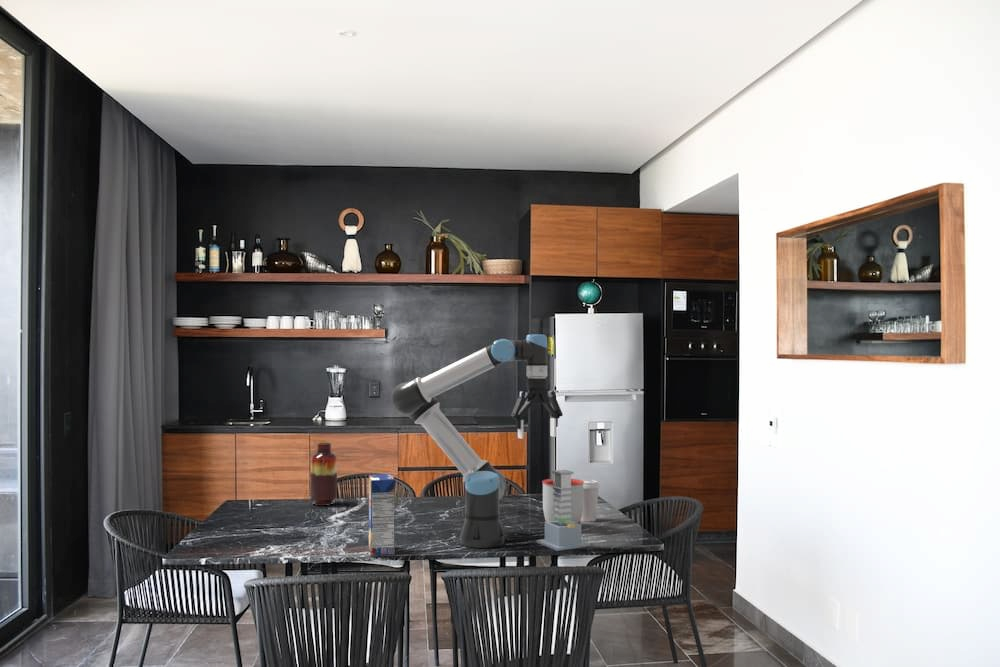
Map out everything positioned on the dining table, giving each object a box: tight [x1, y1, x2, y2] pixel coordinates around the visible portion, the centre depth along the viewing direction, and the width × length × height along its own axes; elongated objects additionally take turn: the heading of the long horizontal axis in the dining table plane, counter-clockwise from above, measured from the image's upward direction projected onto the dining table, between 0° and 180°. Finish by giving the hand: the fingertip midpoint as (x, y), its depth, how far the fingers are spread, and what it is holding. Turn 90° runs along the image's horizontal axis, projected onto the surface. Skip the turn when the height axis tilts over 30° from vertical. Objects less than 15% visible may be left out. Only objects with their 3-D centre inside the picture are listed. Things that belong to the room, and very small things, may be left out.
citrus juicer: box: [541, 478, 584, 524], centre depth 288 cm, size 16×17×20 cm
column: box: [551, 469, 574, 526], centre depth 261 cm, size 5×5×18 cm
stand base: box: [536, 521, 591, 552], centre depth 261 cm, size 13×13×8 cm
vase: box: [310, 441, 338, 505], centre depth 332 cm, size 11×11×26 cm
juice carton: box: [368, 473, 396, 557], centre depth 252 cm, size 12×8×24 cm, turn 13°
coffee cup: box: [581, 479, 601, 523], centre depth 300 cm, size 10×10×15 cm
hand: (537, 437), depth 274 cm, fingers open, 13 cm apart
